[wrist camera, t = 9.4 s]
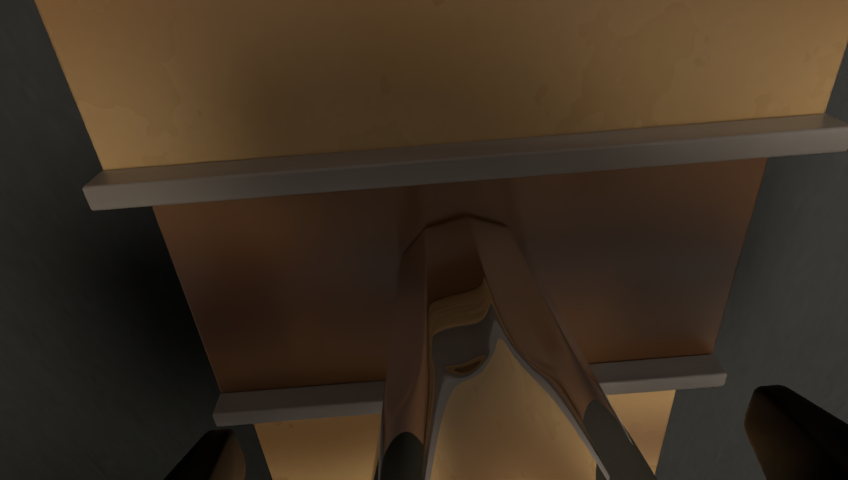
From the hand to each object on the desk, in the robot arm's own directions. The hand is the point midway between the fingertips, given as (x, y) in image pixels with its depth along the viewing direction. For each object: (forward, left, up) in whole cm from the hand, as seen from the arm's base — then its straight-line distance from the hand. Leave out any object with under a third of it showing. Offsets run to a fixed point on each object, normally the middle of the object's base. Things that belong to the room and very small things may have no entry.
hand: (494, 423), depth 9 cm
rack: (0, 0, -7) cm, 7 cm away
